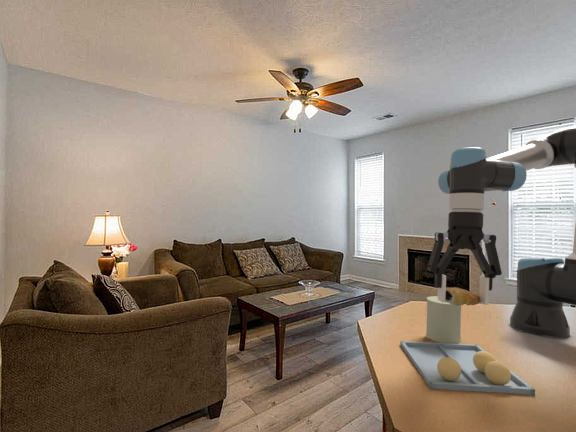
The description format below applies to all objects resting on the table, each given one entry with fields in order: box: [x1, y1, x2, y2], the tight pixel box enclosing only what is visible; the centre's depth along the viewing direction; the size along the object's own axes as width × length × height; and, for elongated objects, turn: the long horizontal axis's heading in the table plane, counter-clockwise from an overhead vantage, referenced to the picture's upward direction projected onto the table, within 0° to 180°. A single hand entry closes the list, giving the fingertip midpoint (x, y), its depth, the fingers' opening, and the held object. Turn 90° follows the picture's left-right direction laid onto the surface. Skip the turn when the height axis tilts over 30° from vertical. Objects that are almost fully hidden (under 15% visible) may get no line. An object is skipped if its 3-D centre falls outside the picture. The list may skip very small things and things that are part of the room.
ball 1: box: [473, 350, 497, 373], centre depth 71 cm, size 5×5×5 cm
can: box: [425, 295, 462, 344], centre depth 92 cm, size 9×9×12 cm
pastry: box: [445, 286, 480, 306], centre depth 79 cm, size 9×7×4 cm
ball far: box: [437, 357, 461, 381], centre depth 68 cm, size 5×5×5 cm
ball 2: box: [485, 360, 511, 385], centre depth 66 cm, size 5×5×5 cm
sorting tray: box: [400, 340, 536, 396], centre depth 74 cm, size 20×22×2 cm
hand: (462, 302), depth 78 cm, fingers closed on pastry, 9 cm apart
